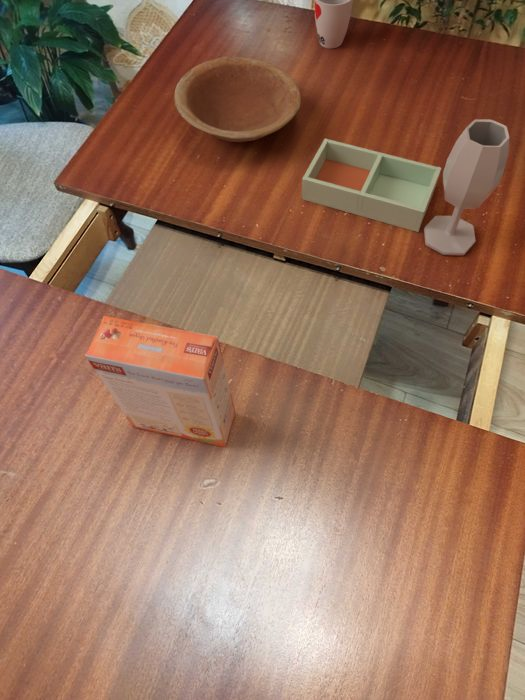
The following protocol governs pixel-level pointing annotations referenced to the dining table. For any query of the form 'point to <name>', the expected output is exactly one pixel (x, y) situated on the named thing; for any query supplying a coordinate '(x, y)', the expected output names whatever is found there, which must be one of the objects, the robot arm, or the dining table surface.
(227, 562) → the dining table surface
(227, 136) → the bowl
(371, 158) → the divided tray
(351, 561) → the dining table surface
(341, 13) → the cup
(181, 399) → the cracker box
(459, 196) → the wineglass
